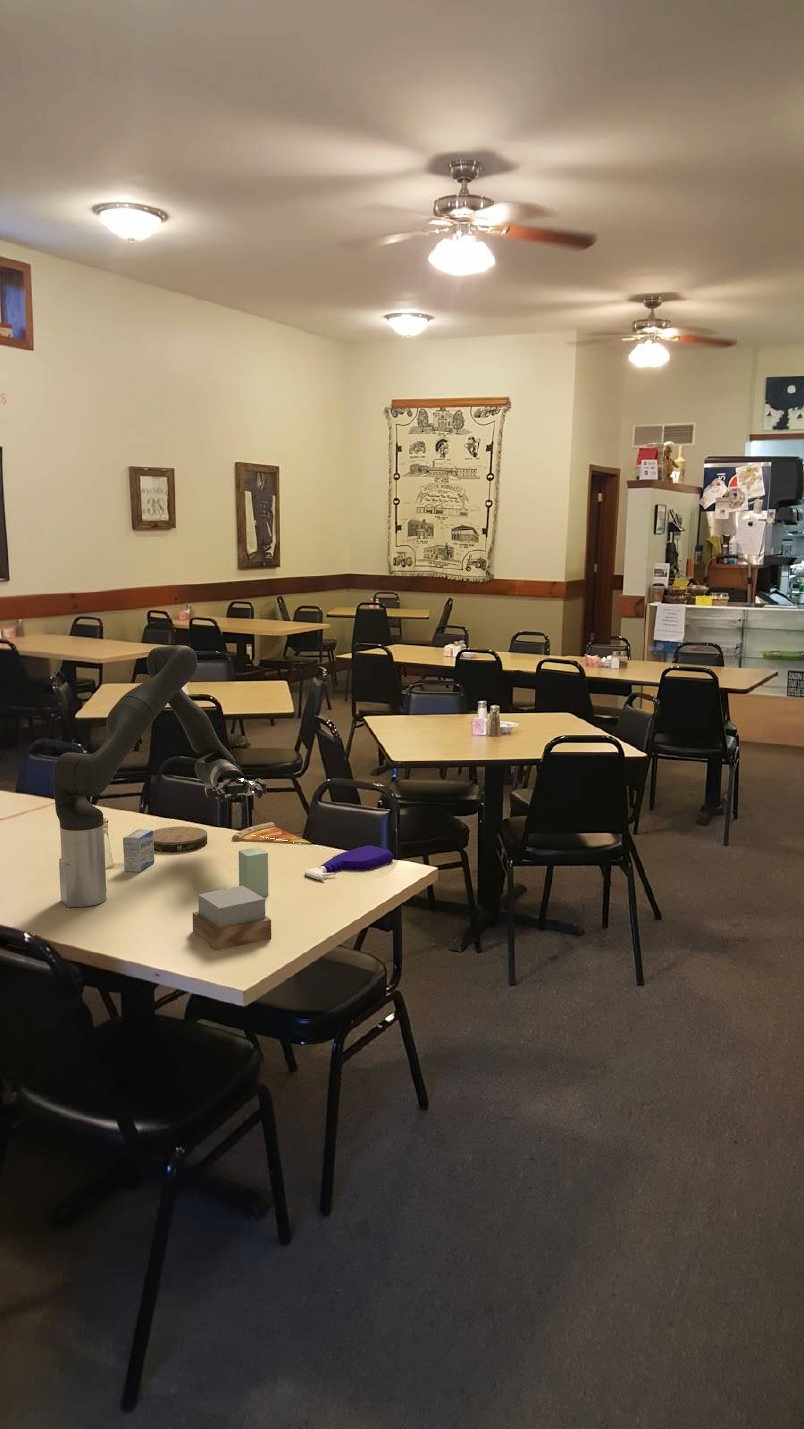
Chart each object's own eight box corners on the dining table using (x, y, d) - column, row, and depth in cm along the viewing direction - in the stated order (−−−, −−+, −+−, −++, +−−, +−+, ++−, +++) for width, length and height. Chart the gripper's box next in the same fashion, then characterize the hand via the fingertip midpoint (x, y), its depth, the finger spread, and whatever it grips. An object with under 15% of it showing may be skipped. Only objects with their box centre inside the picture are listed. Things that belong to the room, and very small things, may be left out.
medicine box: (140, 872, 245) (139, 838, 243) (123, 871, 245) (122, 837, 244) (154, 863, 252) (153, 829, 251) (138, 862, 253) (137, 828, 252)
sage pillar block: (248, 899, 226) (247, 856, 225) (239, 892, 230) (238, 850, 229) (268, 895, 229) (267, 852, 227) (259, 889, 233) (258, 847, 231)
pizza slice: (259, 855, 261) (259, 848, 260) (221, 836, 278) (221, 829, 278) (311, 846, 270) (311, 838, 270) (271, 828, 287) (271, 821, 287)
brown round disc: (142, 840, 273) (142, 829, 273) (200, 834, 280) (200, 824, 279) (151, 856, 259) (151, 845, 259) (213, 849, 265) (213, 838, 265)
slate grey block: (219, 927, 197) (219, 908, 197) (198, 913, 205) (198, 894, 205) (265, 917, 203) (265, 898, 202) (243, 903, 211) (242, 885, 211)
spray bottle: (367, 843, 262) (295, 865, 244) (397, 851, 255) (325, 874, 237) (367, 854, 262) (295, 876, 245) (397, 863, 255) (325, 886, 237)
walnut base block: (215, 952, 196) (214, 930, 196) (192, 933, 207) (192, 912, 206) (271, 941, 203) (271, 919, 202) (247, 922, 213) (246, 902, 212)
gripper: (198, 767, 248) (211, 782, 233) (255, 763, 253) (271, 777, 238) (199, 797, 249) (212, 814, 234) (256, 792, 254) (271, 808, 240)
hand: (241, 795), depth 236 cm, fingers open, 8 cm apart
